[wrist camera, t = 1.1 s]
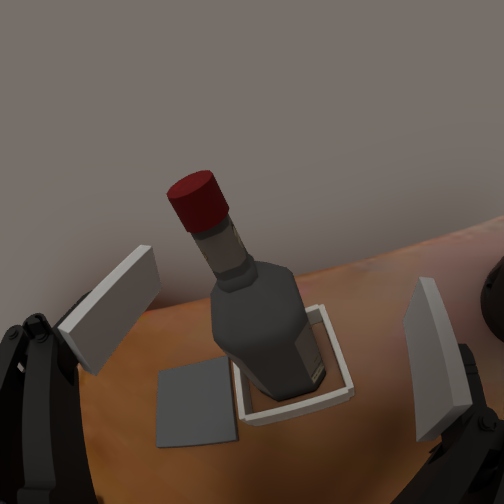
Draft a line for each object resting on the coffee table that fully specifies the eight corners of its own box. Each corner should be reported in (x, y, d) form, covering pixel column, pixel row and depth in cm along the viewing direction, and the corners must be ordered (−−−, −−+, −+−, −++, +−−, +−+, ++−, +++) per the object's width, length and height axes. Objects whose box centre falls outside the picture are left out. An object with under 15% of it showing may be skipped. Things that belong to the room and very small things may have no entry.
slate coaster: (230, 358, 42) (227, 355, 42) (238, 440, 31) (236, 439, 31) (161, 373, 44) (158, 371, 43) (159, 448, 33) (156, 446, 32)
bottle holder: (325, 315, 42) (322, 302, 40) (355, 398, 31) (354, 389, 29) (238, 343, 44) (230, 332, 42) (249, 427, 32) (239, 421, 30)
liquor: (266, 406, 34) (120, 244, 16) (256, 353, 41) (146, 183, 23) (330, 387, 33) (260, 185, 15) (313, 334, 40) (242, 141, 22)
